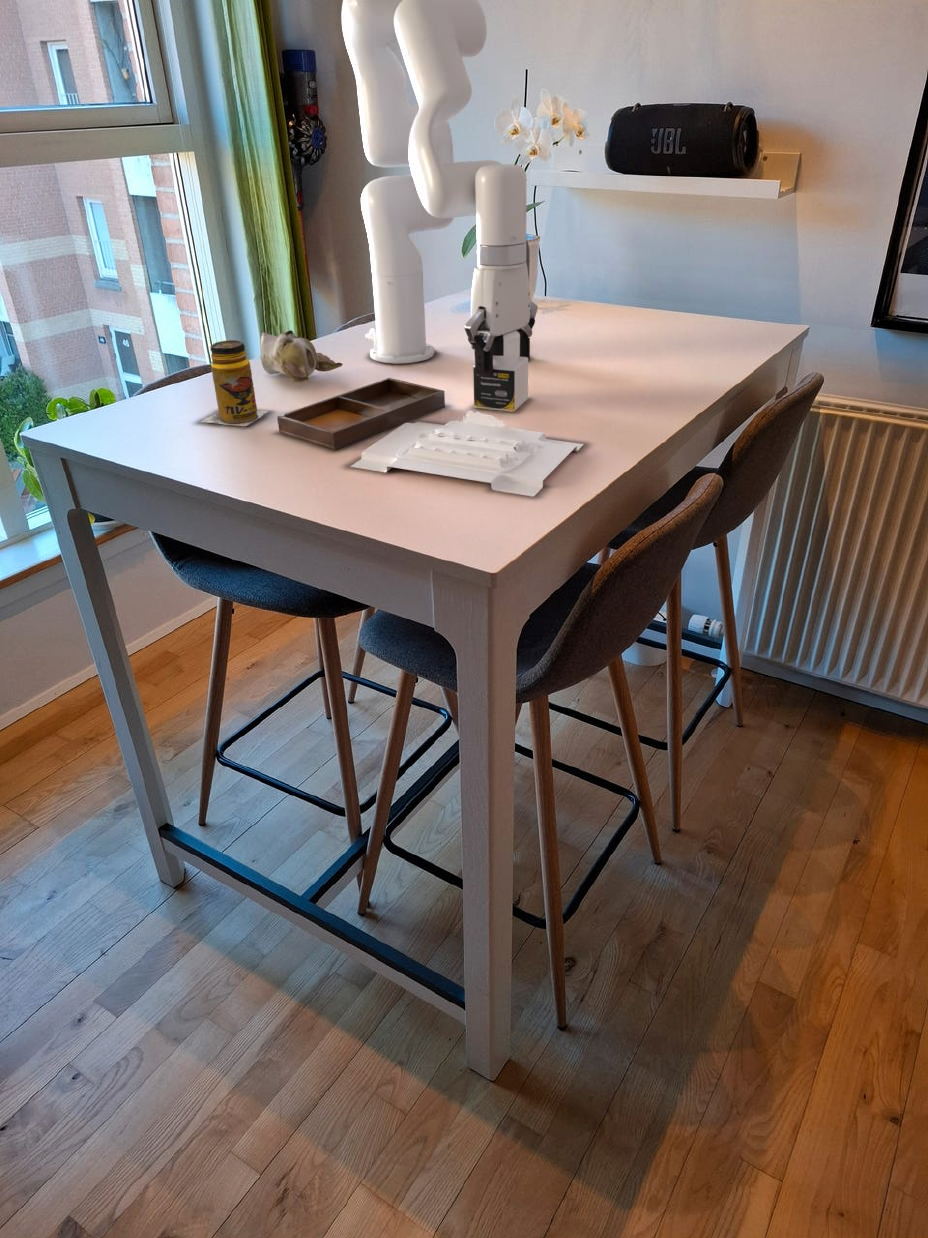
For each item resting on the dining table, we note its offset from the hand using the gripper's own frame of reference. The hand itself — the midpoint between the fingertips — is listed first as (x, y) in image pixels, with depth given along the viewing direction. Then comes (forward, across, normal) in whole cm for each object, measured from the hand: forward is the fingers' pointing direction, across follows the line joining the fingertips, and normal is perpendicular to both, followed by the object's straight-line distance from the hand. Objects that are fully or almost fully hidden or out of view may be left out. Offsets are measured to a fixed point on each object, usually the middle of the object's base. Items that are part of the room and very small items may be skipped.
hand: (503, 368), depth 144 cm
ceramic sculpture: (+6, +10, -41) cm, 42 cm away
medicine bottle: (+6, 0, -1) cm, 6 cm away
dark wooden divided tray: (+6, +19, -14) cm, 24 cm away
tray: (+6, +21, +10) cm, 24 cm away
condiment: (+6, +31, -32) cm, 45 cm away
